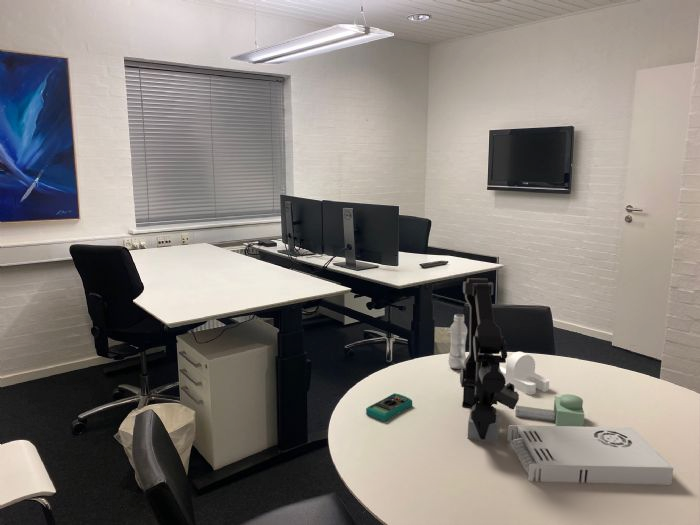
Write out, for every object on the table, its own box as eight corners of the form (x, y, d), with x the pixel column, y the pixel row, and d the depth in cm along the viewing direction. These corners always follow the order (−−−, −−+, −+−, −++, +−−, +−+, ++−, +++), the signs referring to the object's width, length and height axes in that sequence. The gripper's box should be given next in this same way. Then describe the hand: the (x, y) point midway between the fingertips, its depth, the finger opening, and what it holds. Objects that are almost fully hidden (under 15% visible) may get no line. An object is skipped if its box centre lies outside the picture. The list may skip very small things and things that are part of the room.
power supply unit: (507, 442, 139) (508, 424, 138) (630, 444, 138) (632, 427, 137) (528, 483, 120) (529, 464, 119) (671, 487, 119) (674, 467, 118)
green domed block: (515, 421, 149) (517, 398, 148) (515, 406, 158) (516, 385, 157) (582, 431, 144) (585, 407, 142) (578, 415, 153) (580, 393, 152)
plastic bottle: (448, 370, 187) (450, 317, 183) (447, 363, 193) (449, 312, 190) (466, 371, 186) (468, 318, 182) (465, 365, 192) (467, 313, 189)
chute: (467, 438, 139) (468, 421, 138) (469, 427, 145) (470, 411, 144) (498, 443, 137) (499, 426, 136) (498, 432, 143) (499, 415, 142)
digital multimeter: (413, 406, 159) (414, 397, 158) (384, 423, 148) (384, 414, 147) (394, 399, 164) (394, 391, 163) (364, 415, 153) (365, 406, 152)
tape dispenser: (511, 371, 187) (513, 343, 185) (550, 390, 171) (552, 360, 169) (491, 376, 183) (492, 347, 181) (528, 396, 167) (530, 364, 165)
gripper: (518, 395, 127) (514, 453, 130) (517, 368, 145) (514, 419, 147) (472, 389, 130) (469, 446, 133) (477, 363, 148) (474, 414, 150)
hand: (483, 430), depth 141 cm, fingers open, 9 cm apart
